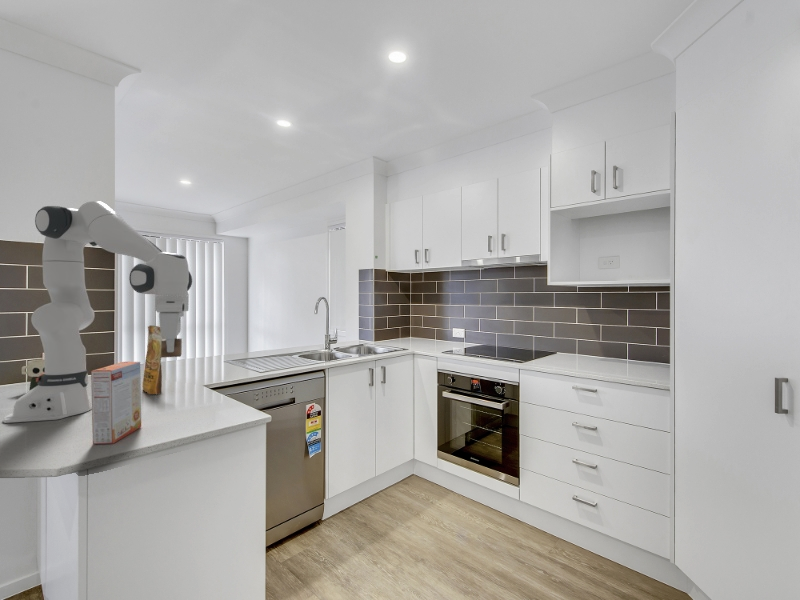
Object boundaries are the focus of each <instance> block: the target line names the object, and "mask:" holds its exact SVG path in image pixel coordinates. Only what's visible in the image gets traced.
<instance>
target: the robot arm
mask: <svg viewBox="0 0 800 600" xmlns="http://www.w3.org/2000/svg"><path fill="white" fill-rule="evenodd" d="M34 223H35V227H36V230H37V231H38V232H39V234H41V236H44V241H43V246H42V248H43V249H42V256H41V257H42V283H43V286H44V288H45V289H46V290H47V292H48V295H49V298H50V302H49V303H46V304H43V305H41V306H39V307H37V308H36V309H35V310H34V311H33V312H32V314H31V318H30V322H31V324H32V326H33V328H34V329H35V330H36V331H37V332H38V335H39V337H40V341H41V343H42V345H41V346H42V348H43V355H44V356H43V357H44V359H43V360H44V362H45V373H43V374H41V375H40V376H39V377H37V378H36V379H37V380H36V382H37V384H38V386H36V387H35V388H33V389H32V390H29V391H28V392H26V393H24V394H23V395H22V396H20V397H18V399H17V400H16V401H15V403H14V405H13V411H12V412H11V413H8V414H7V415H5V416H4V417H3V423H4V424H5V423H7V424H10V423H22V422H23V423H24V422H25V423H26V422H38V421H40V422H42V421H56V420H61V419H64V418H65V419H66V418H67V417H71V416H76V415H80V414H83V413H87V412H88V411H92V403H91V401H90V398H89V394H88V393H89V392H88V387H87V386H88V384H89V374H88V370H87V349H86V347H85V345H84V344H83V341H82V338H81V334H80V331H82V330H84V329H86V328H88V327H89V326H90V325H91V324H92V323H93V322H94V320H95V311H94V308H92V307H91V306H92V305H91V302H90V299H89V296H88V292H87V287H86V281H85V280H86V279H85V278H86V277H85V256H84V249H85V247H86V246H87V245H88V244H89V245H91V246H92V247H95V246H98V247H100V248H101V249H103V250H105V251H107V252H109V253H113V254H118V255H121V256H122V255H123V256H127V257H131V258H134V259H138V260H141V261H143V263H138V264H136V265H134V267H132V268H131V270H130V273H129V278H128V279H129V280H128V281H129V284H130V286H131V288H132V290H134V291H135V292H136V293H137V294H138V293H139V294H144V295H155V296H154V297H155V299H154V311H155V312H156V313H158V314H159V315H158V317H159V327H160V331H161V336H162V338H163V339H166V344H167V352H174V341H175V339H178V335H179V334H180V333H181V330H182V329H181V328H182V325H181V323H182V322H181V317H182V318H183V317H184V316H185V315H184V314H185V313H184V312H188V311H189V295H190V294H189V290H190V289H191V287H192V284H193V277H192V274H191V272H190V269H189V263H188V259H187V257H186V256H184V255H183V254H179V253H175V252H174V253H173V252H167V251H163V250H162V249H161V248H159V247H158V245H156V244H154V243H153V242H152V241H150V240H149V239H148V238H146V237H145V236H143V235H142V234H141V233H139V232H138V231H137V230H136V229H134V228H133V227H132V226H131V225H130V224H129V223H128V222H127V221H126V220H125V219H124V218H123V217H122V216H121V215H120V214H119V213H118V212H117V211H116V210H114V209H113V208H112V207H110V206H109V205H108V204H106V203H104V202H102V201H97V200H90V201H87V202H86V201H85V202H84V203H83V204H82V205H80V207H79V208H73V207H65V206H59V205H47V206H42V207H41V208H40V209H39V210H38V211H37V212H36V214H35V218H34Z"/></svg>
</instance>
